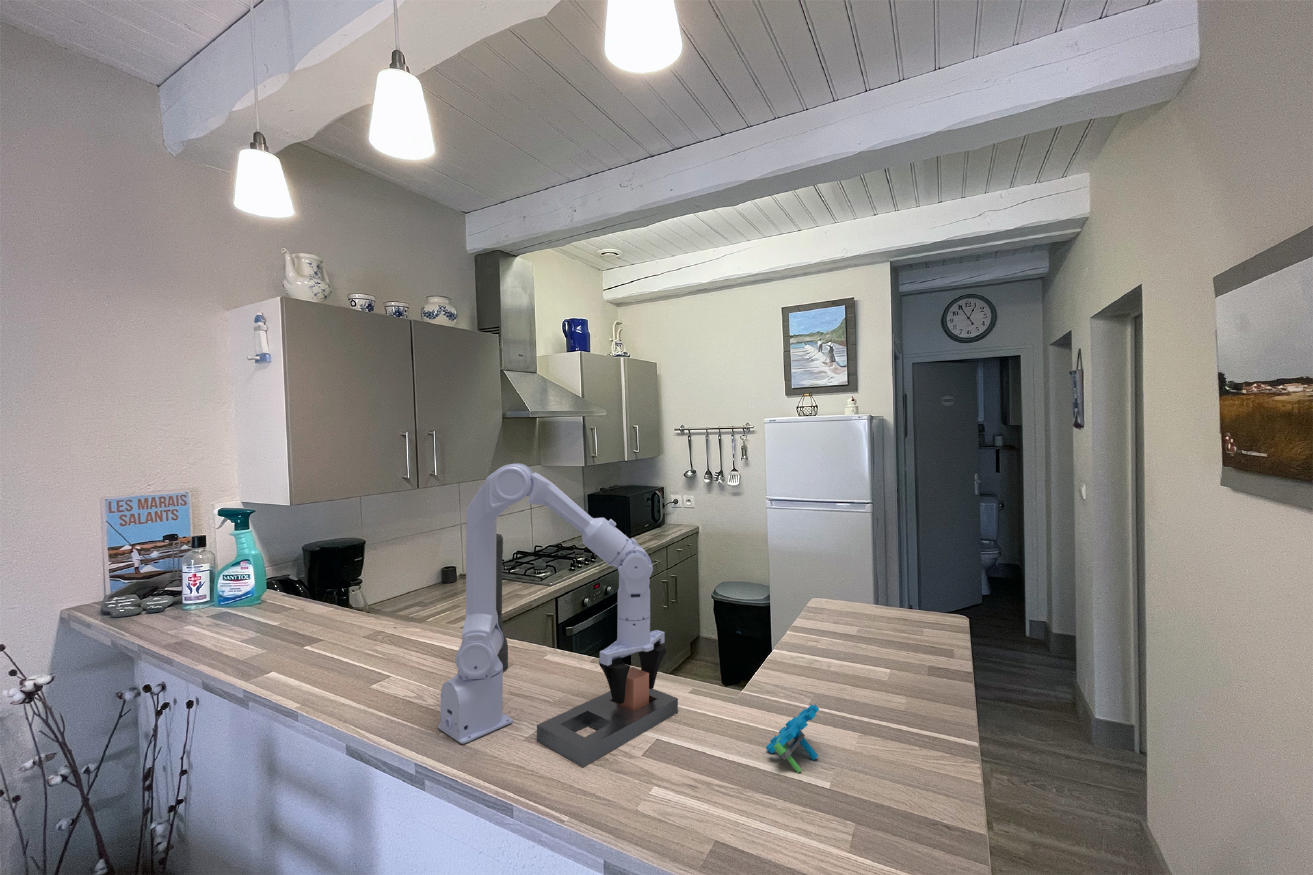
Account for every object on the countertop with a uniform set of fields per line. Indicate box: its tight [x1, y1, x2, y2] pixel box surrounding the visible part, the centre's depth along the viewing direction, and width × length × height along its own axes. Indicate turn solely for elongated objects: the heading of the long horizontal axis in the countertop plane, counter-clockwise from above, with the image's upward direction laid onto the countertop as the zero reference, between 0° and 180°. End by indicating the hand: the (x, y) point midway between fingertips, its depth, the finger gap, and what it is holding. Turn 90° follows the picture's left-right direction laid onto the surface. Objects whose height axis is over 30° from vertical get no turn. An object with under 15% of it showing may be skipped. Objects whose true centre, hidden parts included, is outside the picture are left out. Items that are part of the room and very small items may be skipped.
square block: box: [617, 666, 649, 711], centre depth 96 cm, size 4×4×7 cm
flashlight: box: [496, 533, 509, 673], centre depth 115 cm, size 7×28×7 cm
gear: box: [765, 703, 820, 774], centre depth 82 cm, size 11×6×10 cm
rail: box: [536, 688, 679, 768], centre depth 92 cm, size 22×11×2 cm, turn 139°
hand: (633, 694), depth 96 cm, fingers open, 7 cm apart
